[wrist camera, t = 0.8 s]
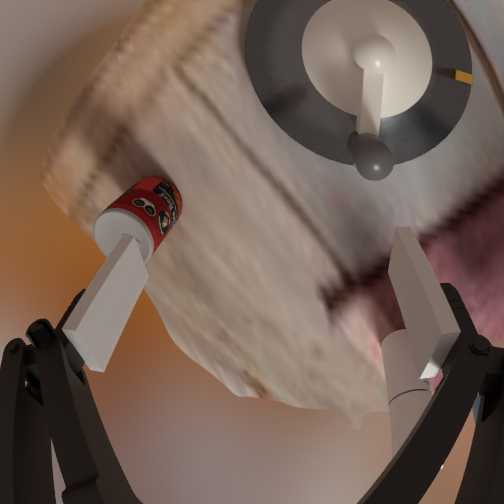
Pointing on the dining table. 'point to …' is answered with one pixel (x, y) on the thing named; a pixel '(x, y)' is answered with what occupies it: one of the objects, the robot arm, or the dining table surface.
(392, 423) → the cylindrical container
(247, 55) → the dial plate
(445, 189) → the dining table surface
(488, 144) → the dining table surface
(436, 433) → the robot arm
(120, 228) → the canned food
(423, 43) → the dial
